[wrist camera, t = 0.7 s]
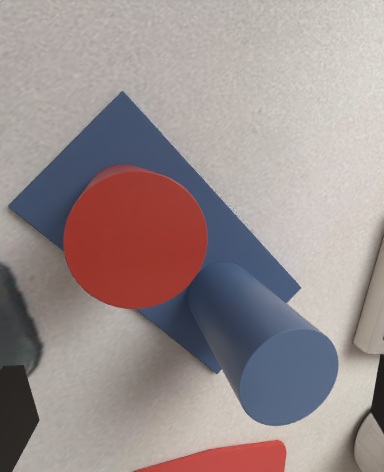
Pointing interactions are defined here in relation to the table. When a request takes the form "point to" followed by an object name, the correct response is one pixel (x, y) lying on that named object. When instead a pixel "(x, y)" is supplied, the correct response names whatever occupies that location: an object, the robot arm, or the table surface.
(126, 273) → the red tin
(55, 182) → the blue mat
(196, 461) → the desk lamp
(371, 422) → the planter
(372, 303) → the picture frame
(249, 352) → the blue tin
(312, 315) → the table surface
